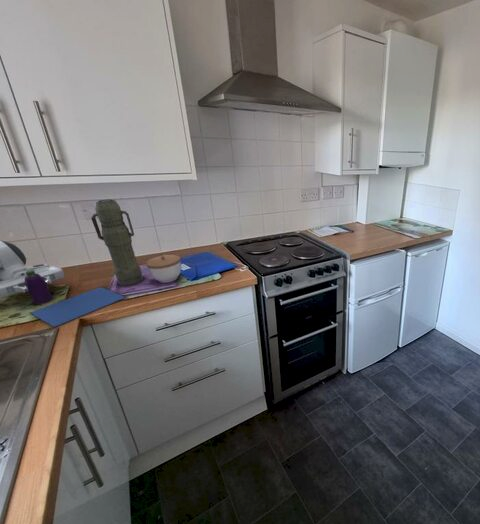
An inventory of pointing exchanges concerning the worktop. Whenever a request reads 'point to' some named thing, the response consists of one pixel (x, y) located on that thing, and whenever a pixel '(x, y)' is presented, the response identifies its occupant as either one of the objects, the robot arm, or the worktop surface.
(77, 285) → the worktop surface
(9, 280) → the robot arm
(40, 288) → the purple bottle
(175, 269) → the lidded bowl
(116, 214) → the thermos
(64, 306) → the napkin
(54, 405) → the worktop surface
